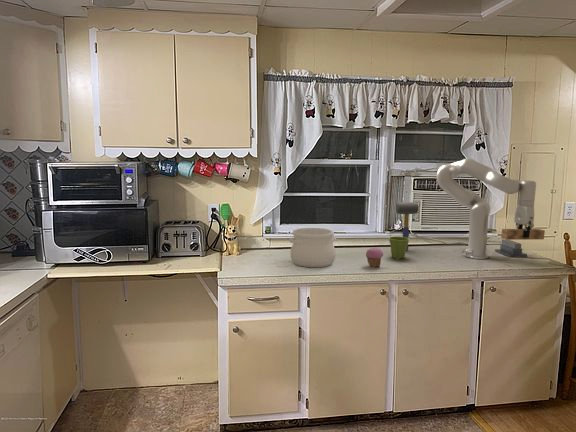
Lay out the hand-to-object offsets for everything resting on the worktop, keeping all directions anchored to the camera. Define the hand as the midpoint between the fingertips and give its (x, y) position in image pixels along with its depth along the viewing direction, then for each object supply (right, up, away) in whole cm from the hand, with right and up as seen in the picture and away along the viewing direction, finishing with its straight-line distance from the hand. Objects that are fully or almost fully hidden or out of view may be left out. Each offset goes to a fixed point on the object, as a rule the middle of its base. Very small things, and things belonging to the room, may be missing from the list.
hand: (522, 236), depth 231 cm
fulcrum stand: (+4, -12, +20) cm, 24 cm away
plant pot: (-65, -13, +11) cm, 68 cm away
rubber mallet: (-56, -10, +29) cm, 64 cm away
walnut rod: (0, -1, 0) cm, 1 cm away
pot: (-115, -15, -2) cm, 116 cm away
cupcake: (-83, -16, -8) cm, 85 cm away
